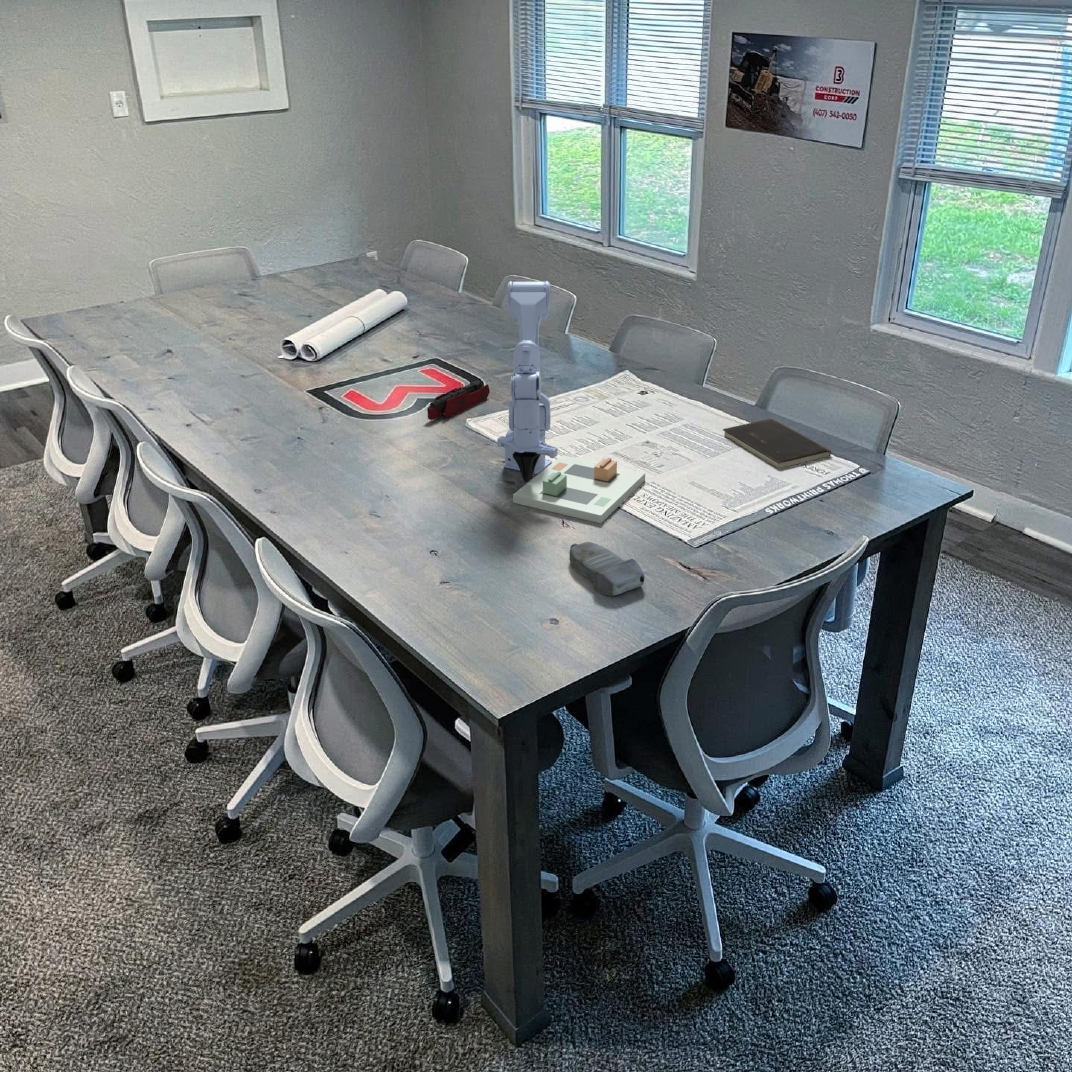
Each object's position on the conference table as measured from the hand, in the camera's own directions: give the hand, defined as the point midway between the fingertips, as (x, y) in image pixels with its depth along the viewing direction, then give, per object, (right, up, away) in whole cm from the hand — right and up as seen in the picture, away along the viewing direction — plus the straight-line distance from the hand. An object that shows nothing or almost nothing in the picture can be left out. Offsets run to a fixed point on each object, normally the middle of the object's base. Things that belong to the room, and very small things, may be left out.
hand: (527, 479), depth 242 cm
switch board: (+12, -3, +2) cm, 13 cm away
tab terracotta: (+18, +1, +4) cm, 18 cm away
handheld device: (+15, -21, -30) cm, 40 cm away
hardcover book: (+62, +9, +23) cm, 67 cm away
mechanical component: (-20, +22, +48) cm, 56 cm away
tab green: (+6, -2, -2) cm, 7 cm away
